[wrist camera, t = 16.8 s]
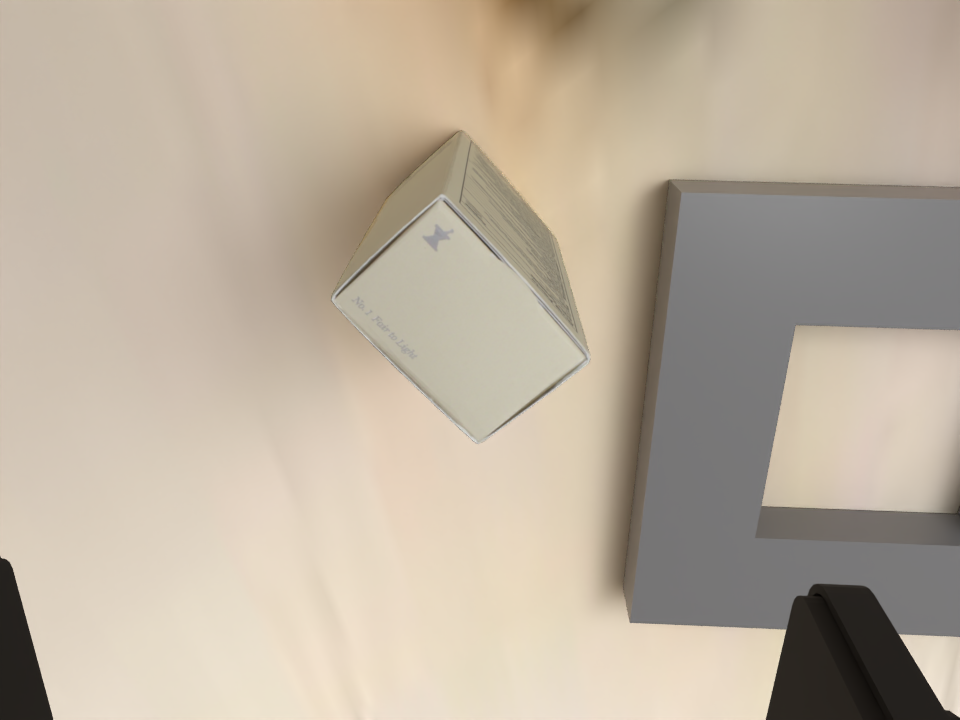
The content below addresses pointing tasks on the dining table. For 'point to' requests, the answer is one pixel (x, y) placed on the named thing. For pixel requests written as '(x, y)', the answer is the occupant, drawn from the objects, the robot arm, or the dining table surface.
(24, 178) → the dining table surface
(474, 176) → the skincare box
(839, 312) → the socket block
